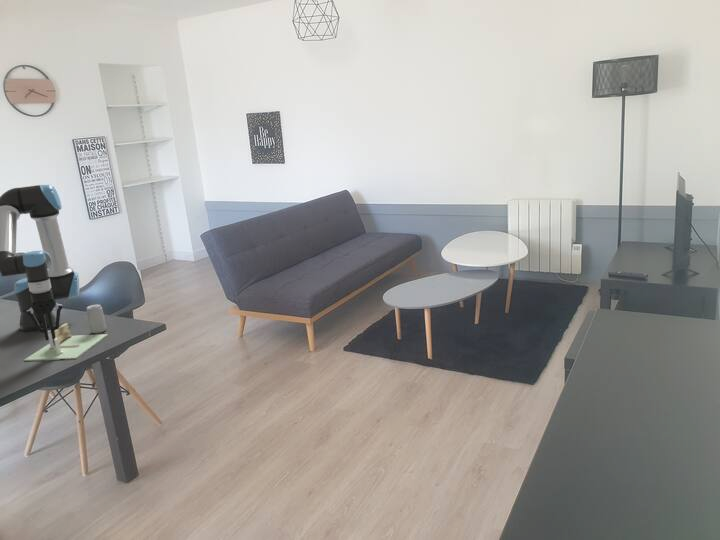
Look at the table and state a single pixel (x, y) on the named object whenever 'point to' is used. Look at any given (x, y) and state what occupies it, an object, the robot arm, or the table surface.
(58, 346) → the panel
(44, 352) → the card
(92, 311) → the beverage can
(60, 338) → the fence fixed
